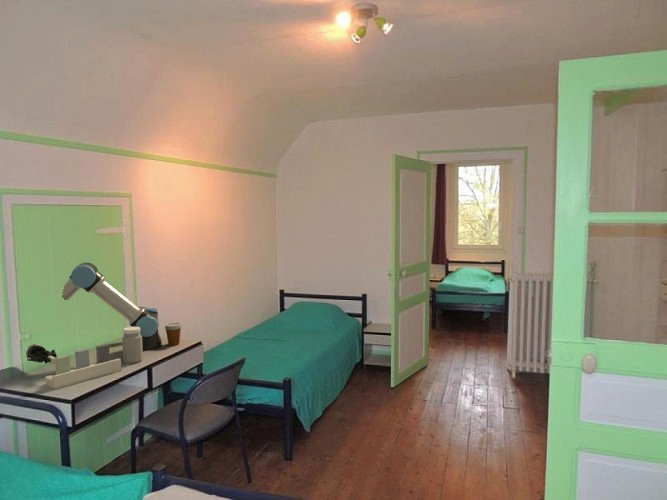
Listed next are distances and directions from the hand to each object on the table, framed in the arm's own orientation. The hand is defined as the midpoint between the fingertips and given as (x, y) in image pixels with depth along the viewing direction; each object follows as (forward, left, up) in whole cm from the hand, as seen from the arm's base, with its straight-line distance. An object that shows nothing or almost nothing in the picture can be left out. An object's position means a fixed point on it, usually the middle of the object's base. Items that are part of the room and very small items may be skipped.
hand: (55, 361), depth 223 cm
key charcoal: (-21, -2, -8) cm, 22 cm away
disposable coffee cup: (-62, -31, -9) cm, 70 cm away
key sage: (-3, +8, -8) cm, 12 cm away
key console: (-12, +3, -9) cm, 15 cm away
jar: (-36, -10, -9) cm, 38 cm away
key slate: (-11, +2, -8) cm, 14 cm away
